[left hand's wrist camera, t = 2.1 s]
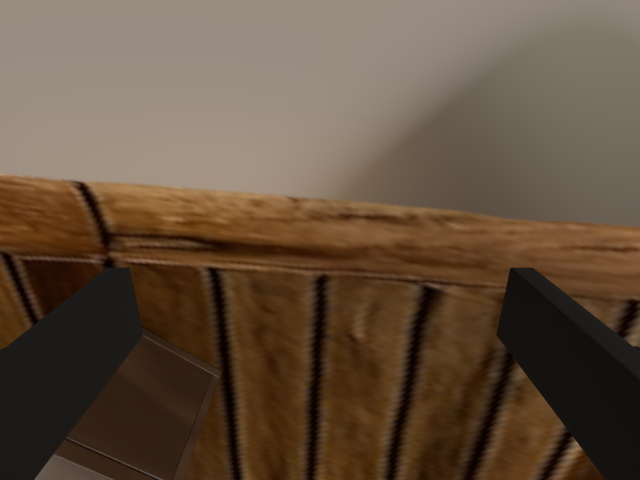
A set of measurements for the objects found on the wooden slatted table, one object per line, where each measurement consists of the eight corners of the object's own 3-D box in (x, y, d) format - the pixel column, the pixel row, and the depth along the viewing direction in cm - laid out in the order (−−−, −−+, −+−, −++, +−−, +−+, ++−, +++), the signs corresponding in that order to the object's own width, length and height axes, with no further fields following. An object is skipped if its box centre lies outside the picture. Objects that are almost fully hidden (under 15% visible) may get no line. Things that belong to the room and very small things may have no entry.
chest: (146, 450, 40) (90, 569, 31) (65, 413, 38) (-22, 529, 29) (221, 371, 34) (180, 488, 25) (131, 321, 32) (49, 430, 23)
